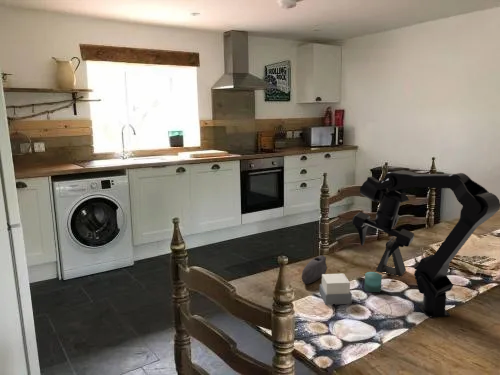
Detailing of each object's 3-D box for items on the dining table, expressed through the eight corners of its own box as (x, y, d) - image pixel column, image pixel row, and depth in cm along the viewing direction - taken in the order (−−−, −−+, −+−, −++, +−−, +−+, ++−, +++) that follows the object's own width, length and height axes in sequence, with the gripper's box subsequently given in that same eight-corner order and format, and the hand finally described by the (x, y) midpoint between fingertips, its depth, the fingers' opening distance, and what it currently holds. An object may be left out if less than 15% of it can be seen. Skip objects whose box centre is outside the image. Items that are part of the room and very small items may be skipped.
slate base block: (351, 304, 121) (351, 294, 120) (325, 306, 121) (325, 295, 120) (343, 293, 129) (344, 282, 128) (319, 294, 129) (319, 284, 128)
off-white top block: (349, 293, 121) (349, 282, 120) (326, 294, 121) (326, 283, 120) (343, 283, 128) (343, 273, 127) (321, 284, 127) (321, 274, 127)
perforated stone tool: (309, 289, 132) (309, 269, 130) (295, 285, 135) (295, 265, 134) (330, 274, 143) (330, 256, 142) (317, 271, 146) (317, 253, 145)
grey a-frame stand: (375, 271, 145) (377, 239, 143) (381, 265, 150) (382, 235, 148) (401, 276, 140) (403, 244, 138) (406, 271, 145) (407, 239, 142)
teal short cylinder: (383, 292, 128) (384, 278, 127) (367, 293, 128) (368, 278, 127) (377, 285, 133) (378, 271, 132) (362, 286, 133) (362, 272, 132)
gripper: (425, 212, 126) (410, 253, 132) (369, 191, 135) (358, 231, 141) (415, 223, 117) (400, 267, 123) (356, 200, 127) (345, 242, 133)
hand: (375, 250), depth 130 cm, fingers open, 9 cm apart
